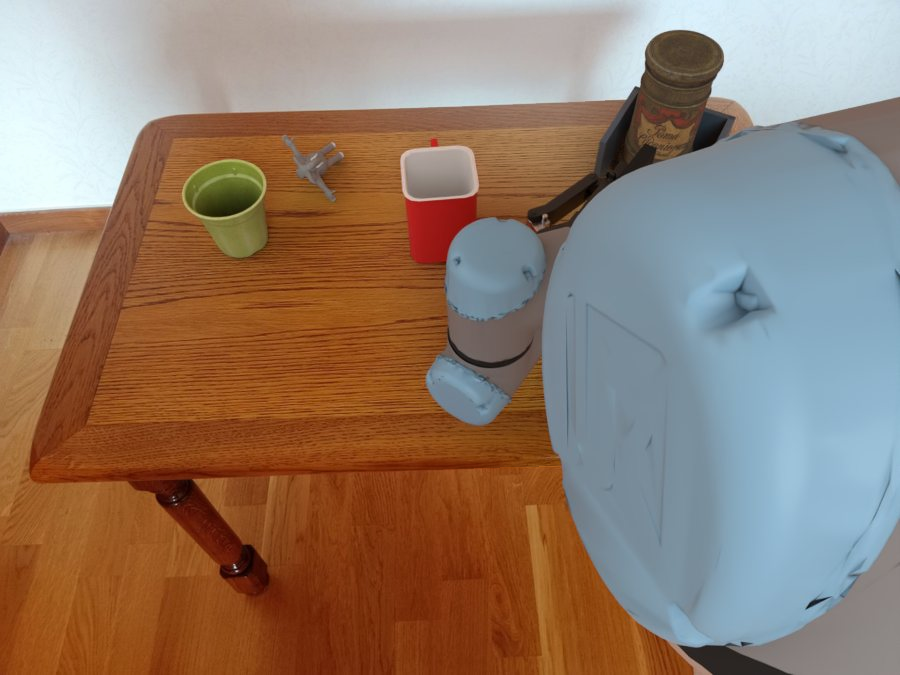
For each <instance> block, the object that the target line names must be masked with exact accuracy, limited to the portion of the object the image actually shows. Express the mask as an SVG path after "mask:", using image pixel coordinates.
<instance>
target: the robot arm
mask: <svg viewBox="0 0 900 675" xmlns="http://www.w3.org/2000/svg"><path fill="white" fill-rule="evenodd" d="M656 150H657V148H655V147H653V146H651V145H648V144H646V143H645V144H644V145H643V146H642V148H641V149H640V150H639V151H638V153H637V154H636V155H635V156H634V158H633V159H632V160H631V161H630V163H629V164H627V163H624V162H621V163H619V164H618V165H617V166H616V168H615V167H614V169H613V170H608V171H606V172H605V177H602V178H599V177H598V175H597V174H595V173H594V172H590V173H588V174H587V175H585V176H583V177H582V178H581V179H579V180H578V181H577V182H575V183H574V184H572V185H571V186H569V187H568V188H567V189H565V190H564V191H562V192H561V193H560V194H558V195H556V196H555V197H554V198H552V199H551V200H550V201H548V202H547V203H546V204H543V205H540V206H536V207H533V208H530V209H529V210H527V213H526V223H524V222H521V221H520V220H516V219H514V218H509V219H500V218H497V217H496V216H492V217H490V216H489V217H485V218H480V219H478V220H477V221H475V222H473V223H471V224H469V225H467V226H466V227H464V228H463V229H462V230H461V231H460V232H459V233H458V234H457V235H456V236H455V238H454V239H453V241H452V243H451V245H450V248H449V251H448V257H447V262H445V276H444V294H445V298H446V312H447V328H446V342H447V344H446V346H445V348H444V349H443V351H441V352H440V353H438V354H437V355H436V356H435V359H434V361H433V363H432V364H431V366H430V367H429V369H428V370H427V372H426V374H425V385H426V388H427V391H428V392H429V394H430V396H431V397H432V399H433V400H434V401H435V402H436V403H437V404H438V405H439V406H440V407H441V408H442V409H443V410H444V411H445V412H447V413H448V414H450V415H451V416H452V417H454V418H456V419H458V420H459V421H461V422H463V423H466V424H468V425H472V426H476V427H477V426H478V427H479V426H480V427H481V426H486V425H489V424H491V423H492V422H493V421H494V420H495V419H496V418H497V417H498V416H499V414H500V413H501V412H502V411H503V409H504V408H505V407H506V406H507V405H508V404H511V402H512V401H513V399H512V398H513V396H514V395H515V394H516V393H517V391H518V390H519V388H520V387H521V385H522V384H523V382H524V381H525V380H526V379H527V377H528V376H529V374H530V373H531V372H532V370H533V369H534V367H535V366H536V364H538V362H539V360H540V359H541V372H542V374H541V375H542V387H543V398H544V406H545V414H546V421H547V428H548V434H549V439H550V443H551V449H552V451H553V452H554V454H556V455H558V457H559V459H560V463H561V470H562V481H561V484H562V488H563V492H564V495H565V501H566V505H567V507H568V510H569V512H570V514H571V518H572V520H573V522H574V525H575V528H576V530H577V533H578V535H579V537H580V538H579V539H580V540H581V543H582V544H583V546H584V549H585V551H586V553H587V554H588V556H589V559H590V560H591V562H592V564H593V566H594V568H595V569H596V571H597V573H598V575H599V577H600V578H601V579H602V581H603V583H604V585H605V586H606V587H607V589H608V590H609V592H610V593H611V594H612V596H613V597H614V599H615V600H616V601H617V603H618V604H619V605H620V606H621V607H622V608H623V610H625V612H626V613H627V614H628V615H629V616H630V617H631V618H632V619H633V620H634V621H635V622H636V623H638V624H639V625H641V626H642V627H643V628H645V629H646V630H648V631H649V632H651V633H652V634H654V635H656V636H658V637H659V638H661V639H663V640H665V641H666V642H667V643H668V645H670V647H671V648H672V649H673V650H674V651H675V652H677V653H678V655H680V656H681V658H683V659H684V660H685V661H686V662H687V663H688V664H689V665H690V666H691V667H692V670H693V675H900V96H897V97H892V98H889V99H884V100H879V101H875V102H871V103H866V104H861V105H857V106H853V107H848V108H843V109H839V110H835V111H831V112H827V113H821V114H817V115H812V116H808V117H804V118H799V119H795V120H790V121H786V122H781V123H776V124H771V125H759V124H756V125H752V126H747V127H745V128H742V129H740V131H738V132H737V133H734V134H731V135H729V137H726V138H723V139H721V140H719V141H718V142H716V143H715V144H714V145H712V146H710V147H707V148H704V149H701V150H698V151H695V152H692V153H689V154H685V155H682V156H678V157H675V158H672V159H668V160H665V161H661V162H658V163H655V164H653V161H654V157H655V154H656ZM580 206H581V207H580ZM579 207H580V208H579ZM577 208H579V210H576V209H577ZM574 210H576V211H575V213H574V214H573V215H572V216H571V217H570V218H569V219H568V221H564V222H561V223H558V222H560V221H561V220H562V219H563V218H565V217H566V216H568V215H569V214H571V213H572V212H573V211H574ZM557 223H558V224H557Z"/></svg>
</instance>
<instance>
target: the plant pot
mask: <svg viewBox="0 0 900 675" xmlns="http://www.w3.org/2000/svg"><path fill="white" fill-rule="evenodd" d="M267 187H268V184H267V178H266V175H265V174H264V172H263V170H261V168H260V167H259V166H257V165H256V164H254V163H252V162H250V161H247V160H243V159H236V158H227V159H220V160H216V161H213V162H209V163H207V164H204V165H203V166H201V167H199V168H198V169H197V170H195V171H194V172H193V173H192V174H191V175H190V176H189V177H188V178H187V180H186V181H185V182H184V184H183V187H182V191H181V199H182V202H183V204H184V206H185V208H186V209H187V211H188V212H190V214H192V215H193V216H195V217H196V219H198V220H199V221H201V223H202V225H203V226H204V228H205V229H206V231H207V232H208V233H209V235H210V237H211V238H212V239H213V241H214V243H215V245H217V248H218V249H219V250H220V251H221V253H223V254H224V255H226V256H227V257H231V258H236V259H242V258H243V259H244V258H248V257H251V256H252V255H253V254H255V253H257V252H258V251H261V250H262V249H264V247H265V246H266V244H267V243H268V240H269V230H268V222H267V214H266V206H265V197H266V193H267Z"/></svg>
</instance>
